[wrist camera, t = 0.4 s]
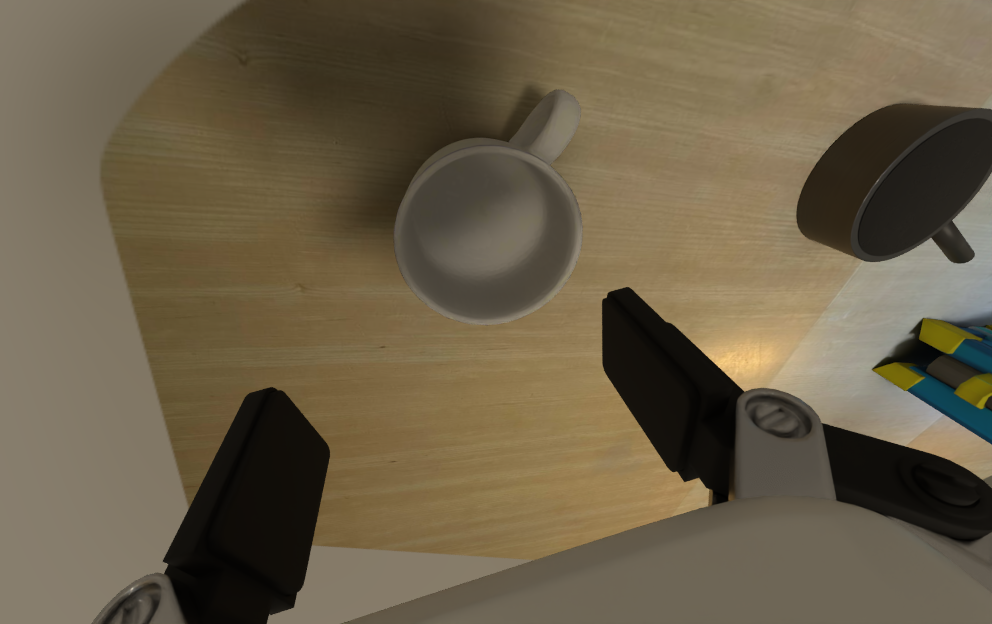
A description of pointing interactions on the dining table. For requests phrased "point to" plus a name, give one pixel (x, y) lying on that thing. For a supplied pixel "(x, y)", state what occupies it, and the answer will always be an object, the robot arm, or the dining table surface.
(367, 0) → the dining table surface
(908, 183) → the milk pan
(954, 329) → the decorative book
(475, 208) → the teacup
